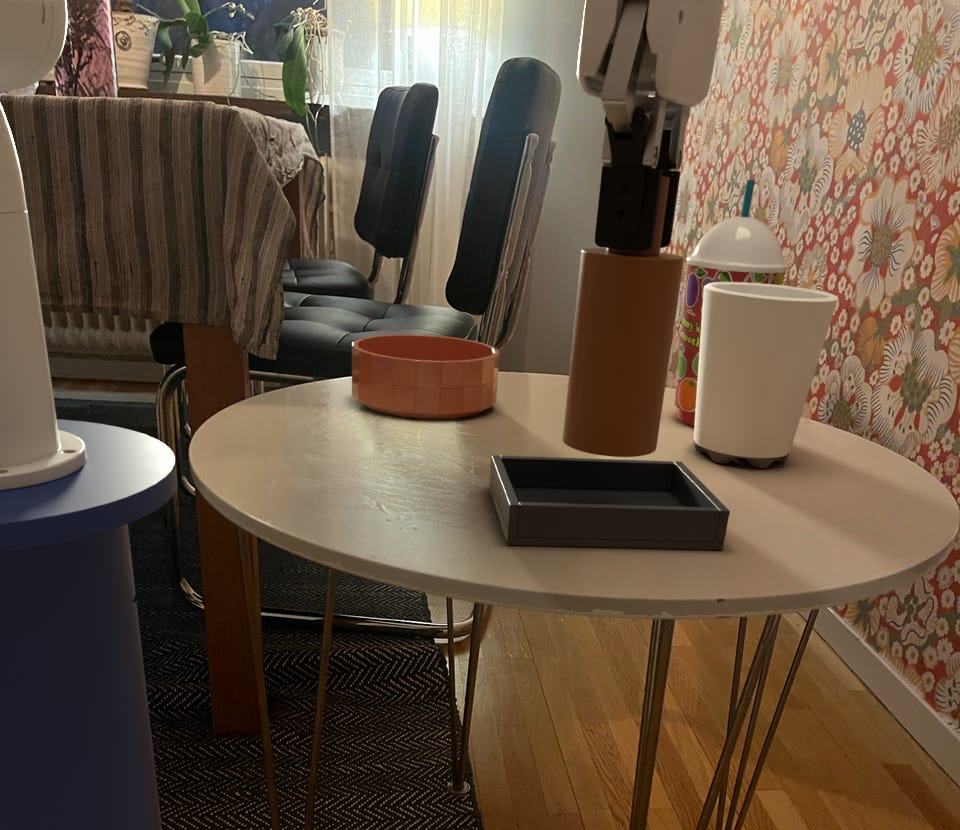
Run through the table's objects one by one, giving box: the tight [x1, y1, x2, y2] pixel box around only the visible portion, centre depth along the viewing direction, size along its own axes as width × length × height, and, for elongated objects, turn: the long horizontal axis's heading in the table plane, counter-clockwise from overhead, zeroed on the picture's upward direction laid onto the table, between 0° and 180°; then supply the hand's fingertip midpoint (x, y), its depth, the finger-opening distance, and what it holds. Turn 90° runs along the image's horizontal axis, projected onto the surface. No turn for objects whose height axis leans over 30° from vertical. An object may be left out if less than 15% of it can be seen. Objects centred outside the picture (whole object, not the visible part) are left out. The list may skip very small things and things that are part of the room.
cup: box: [693, 282, 839, 469], centre depth 74 cm, size 10×10×13 cm
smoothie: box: [674, 179, 788, 427], centre depth 82 cm, size 8×8×20 cm
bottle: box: [562, 176, 685, 458], centre depth 55 cm, size 6×6×15 cm
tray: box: [488, 454, 731, 551], centre depth 60 cm, size 13×10×2 cm
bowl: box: [351, 333, 501, 420], centre depth 85 cm, size 13×13×5 cm
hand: (633, 243), depth 54 cm, fingers closed on bottle, 3 cm apart
